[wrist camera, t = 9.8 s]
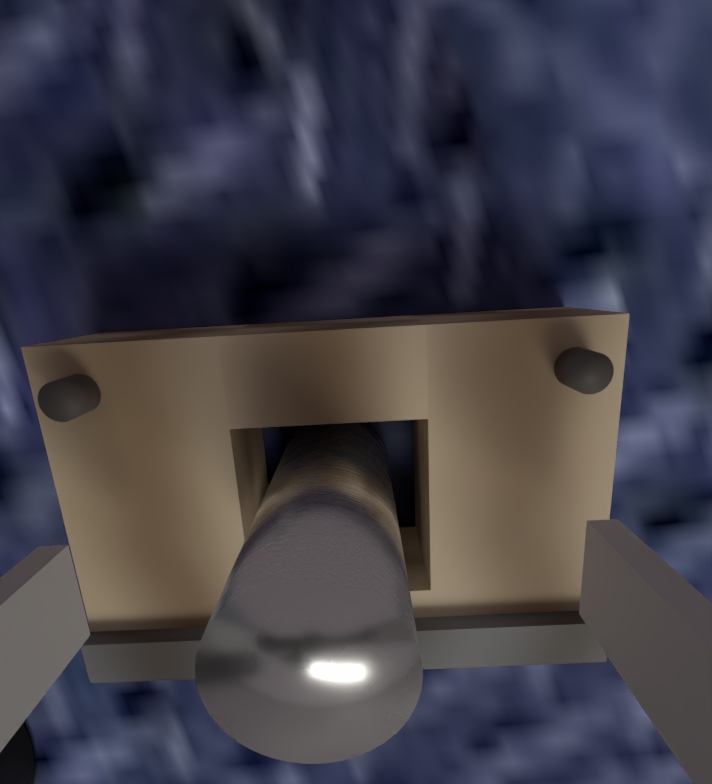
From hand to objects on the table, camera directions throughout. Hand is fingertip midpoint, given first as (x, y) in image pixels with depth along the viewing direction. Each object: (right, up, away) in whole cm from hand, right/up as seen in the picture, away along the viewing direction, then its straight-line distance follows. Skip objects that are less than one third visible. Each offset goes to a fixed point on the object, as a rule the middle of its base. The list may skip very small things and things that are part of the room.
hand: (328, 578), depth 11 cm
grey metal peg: (0, +2, +7) cm, 7 cm away
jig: (0, +2, +7) cm, 7 cm away
